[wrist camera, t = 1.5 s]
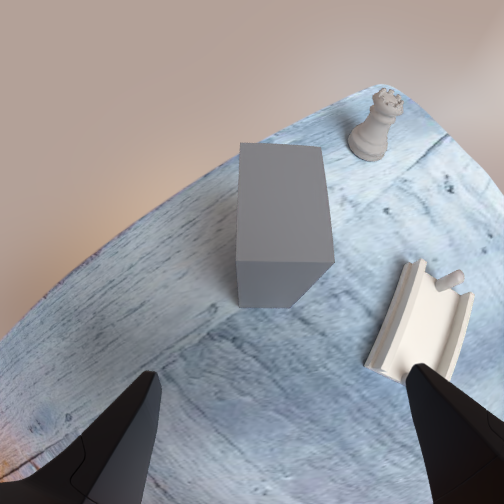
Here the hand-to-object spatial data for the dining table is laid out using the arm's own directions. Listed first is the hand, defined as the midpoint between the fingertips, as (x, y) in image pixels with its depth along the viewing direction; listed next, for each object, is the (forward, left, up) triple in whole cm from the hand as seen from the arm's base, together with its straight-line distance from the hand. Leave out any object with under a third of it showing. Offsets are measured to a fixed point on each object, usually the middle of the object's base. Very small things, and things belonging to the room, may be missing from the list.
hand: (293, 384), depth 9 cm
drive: (+5, +5, -13) cm, 15 cm away
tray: (+11, -9, -13) cm, 19 cm away
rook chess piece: (+23, +7, -13) cm, 28 cm away
